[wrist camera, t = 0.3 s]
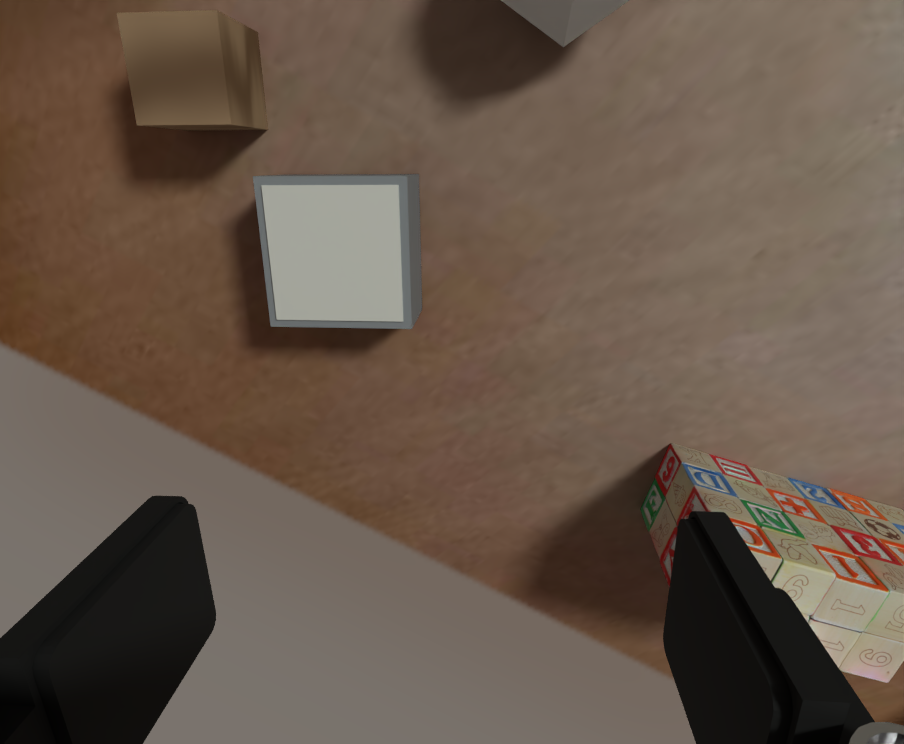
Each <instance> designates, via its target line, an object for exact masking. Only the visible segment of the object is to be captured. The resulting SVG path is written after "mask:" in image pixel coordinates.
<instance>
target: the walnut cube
mask: <svg viewBox="0 0 904 744" xmlns="http://www.w3.org/2000/svg"><path fill="white" fill-rule="evenodd" d="M117 18H118V23H119V29H120V35H121V40H122V46H123V51H124V57H125V62H126V68H127V74H128V79H129V85H130V90H131V96H132V101H133V107H134V113H135V118H136V124H137V126H147V127H157V128H166V129H176V130H186V131H191V130H268V124H267V115H266V106H265V96H264V87H263V77H262V68H261V59H260V49H259V40H258V32H256V31H254V30H252V29H251V28H249V27H247V26H245V25H243V24H241V23H239V22H238V21H236V20H234V19H232V18H230V17H228V16H226V15H225V14H223V13H221V12H219V11H217V10H204V11H167V12H129V13H117Z"/></svg>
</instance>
